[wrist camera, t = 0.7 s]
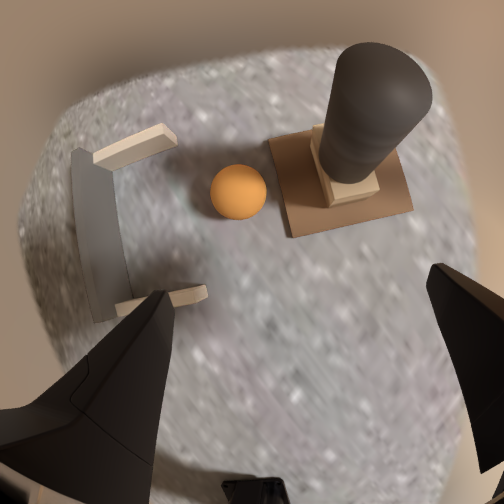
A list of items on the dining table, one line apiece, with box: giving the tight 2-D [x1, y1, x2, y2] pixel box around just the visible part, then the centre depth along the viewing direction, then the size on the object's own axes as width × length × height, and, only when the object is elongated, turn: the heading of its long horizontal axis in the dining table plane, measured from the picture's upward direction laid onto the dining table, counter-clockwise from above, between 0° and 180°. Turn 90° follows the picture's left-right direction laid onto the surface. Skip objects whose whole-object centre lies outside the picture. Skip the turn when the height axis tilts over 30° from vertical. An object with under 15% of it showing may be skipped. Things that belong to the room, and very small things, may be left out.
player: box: [310, 42, 432, 209], centre depth 14 cm, size 5×4×13 cm
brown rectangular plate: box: [268, 130, 414, 238], centre depth 21 cm, size 8×10×1 cm
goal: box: [71, 123, 208, 323], centre depth 21 cm, size 14×8×5 cm, turn 13°
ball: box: [210, 164, 266, 220], centre depth 20 cm, size 4×4×4 cm
